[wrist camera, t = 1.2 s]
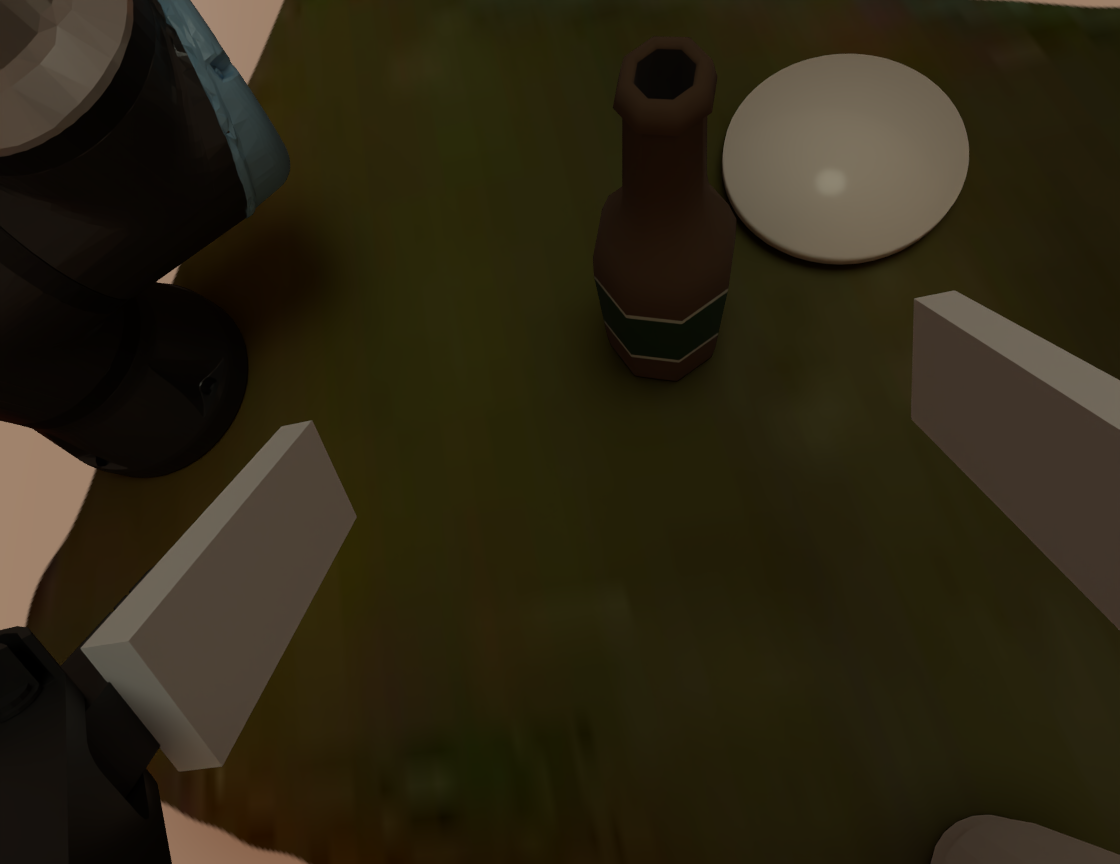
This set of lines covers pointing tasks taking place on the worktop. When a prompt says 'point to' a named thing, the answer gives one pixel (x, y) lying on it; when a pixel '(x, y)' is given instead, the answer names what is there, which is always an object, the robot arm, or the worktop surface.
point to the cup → (1013, 844)
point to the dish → (844, 158)
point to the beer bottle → (664, 216)
